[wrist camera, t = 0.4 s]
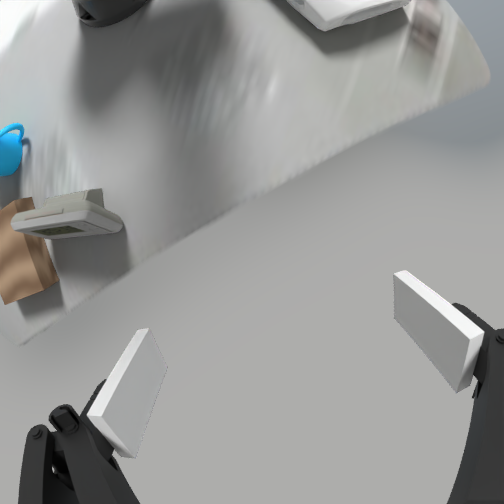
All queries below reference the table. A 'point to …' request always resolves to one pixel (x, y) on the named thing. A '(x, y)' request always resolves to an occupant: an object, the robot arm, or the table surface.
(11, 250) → the riser block
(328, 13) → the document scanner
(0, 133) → the mug
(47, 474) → the robot arm
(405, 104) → the table surface
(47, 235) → the digital clock
